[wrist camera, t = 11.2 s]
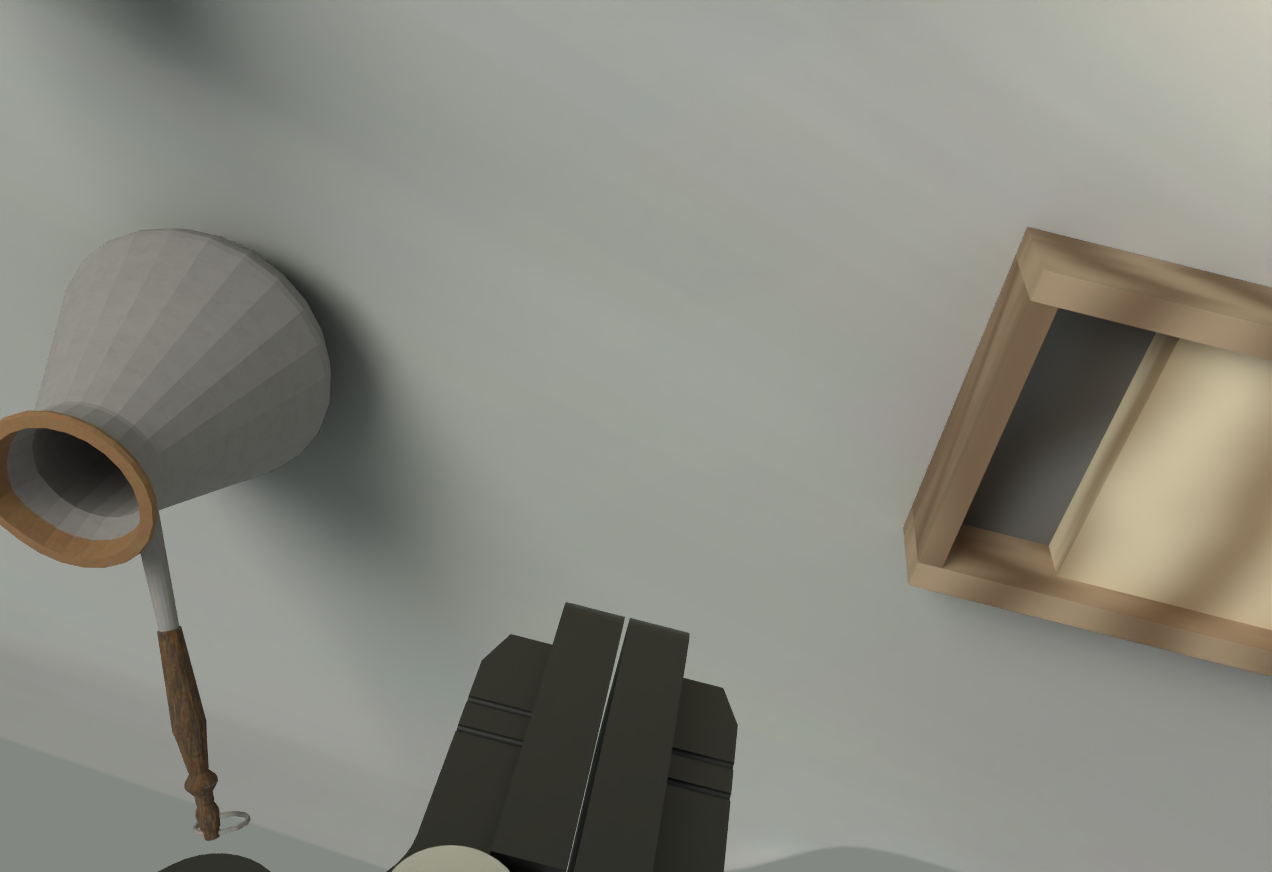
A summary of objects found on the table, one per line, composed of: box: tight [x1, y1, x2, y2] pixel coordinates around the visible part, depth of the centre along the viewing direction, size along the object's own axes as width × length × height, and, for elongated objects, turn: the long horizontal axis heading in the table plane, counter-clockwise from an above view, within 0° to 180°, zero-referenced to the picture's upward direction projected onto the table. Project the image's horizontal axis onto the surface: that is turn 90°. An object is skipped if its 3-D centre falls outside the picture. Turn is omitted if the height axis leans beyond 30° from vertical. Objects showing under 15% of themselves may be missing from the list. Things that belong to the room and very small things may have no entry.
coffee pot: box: [0, 229, 331, 841], centre depth 48 cm, size 21×12×15 cm, turn 13°
